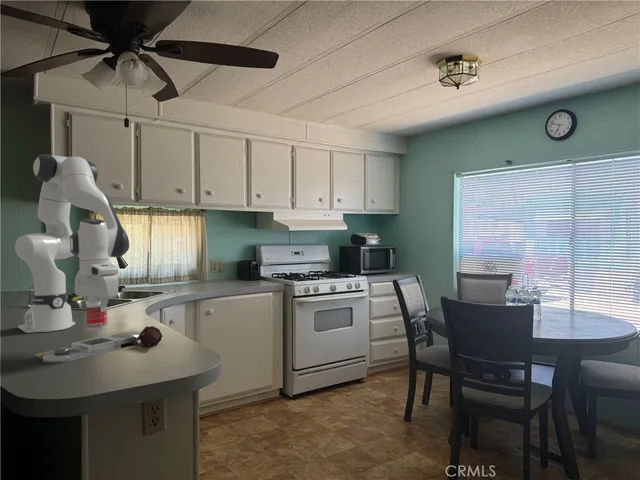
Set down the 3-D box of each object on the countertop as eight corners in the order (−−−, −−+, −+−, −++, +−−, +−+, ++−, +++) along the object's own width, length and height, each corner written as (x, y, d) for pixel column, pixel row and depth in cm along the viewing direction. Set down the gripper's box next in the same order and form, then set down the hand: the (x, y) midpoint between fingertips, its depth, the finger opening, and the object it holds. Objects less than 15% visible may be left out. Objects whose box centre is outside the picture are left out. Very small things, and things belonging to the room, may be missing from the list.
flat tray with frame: (52, 365, 132) (52, 355, 132) (36, 360, 138) (36, 350, 137) (148, 341, 158) (148, 333, 158) (132, 338, 164) (131, 330, 164)
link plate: (39, 359, 141) (39, 355, 141) (35, 357, 142) (35, 353, 142) (66, 353, 147) (66, 349, 147) (62, 351, 149) (62, 348, 149)
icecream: (169, 329, 149) (158, 325, 161) (146, 326, 145) (136, 323, 157) (165, 350, 147) (153, 345, 160) (141, 348, 144) (132, 343, 156)
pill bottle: (108, 329, 147) (107, 295, 147) (87, 332, 144) (86, 297, 143) (106, 326, 152) (104, 293, 152) (85, 328, 149) (84, 295, 149)
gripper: (68, 268, 151) (70, 309, 151) (102, 270, 139) (103, 314, 139) (87, 266, 156) (88, 306, 156) (121, 268, 144) (122, 311, 145)
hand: (96, 310), depth 148 cm, fingers closed on pill bottle, 6 cm apart
